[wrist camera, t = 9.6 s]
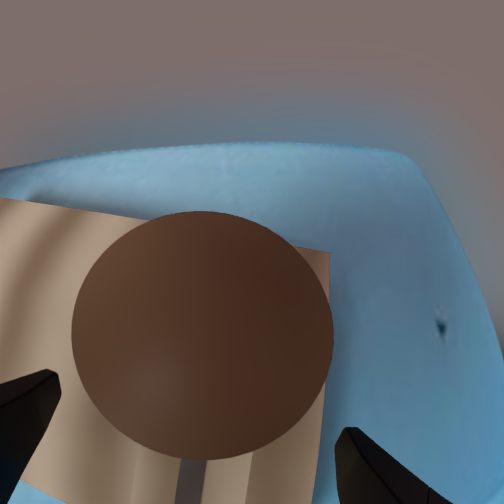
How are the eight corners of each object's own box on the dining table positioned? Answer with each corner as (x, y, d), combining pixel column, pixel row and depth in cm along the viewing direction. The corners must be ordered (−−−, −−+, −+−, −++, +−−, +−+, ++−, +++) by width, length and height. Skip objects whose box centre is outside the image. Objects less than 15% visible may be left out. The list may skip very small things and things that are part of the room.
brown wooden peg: (270, 401, 14) (381, 348, 5) (197, 450, 12) (162, 509, 3) (219, 333, 16) (234, 180, 6) (147, 377, 14) (40, 280, 5)
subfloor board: (315, 274, 18) (330, 252, 16) (289, 532, 10) (303, 549, 8) (10, 218, 18) (-5, 195, 15) (-56, 408, 10) (-81, 400, 7)
